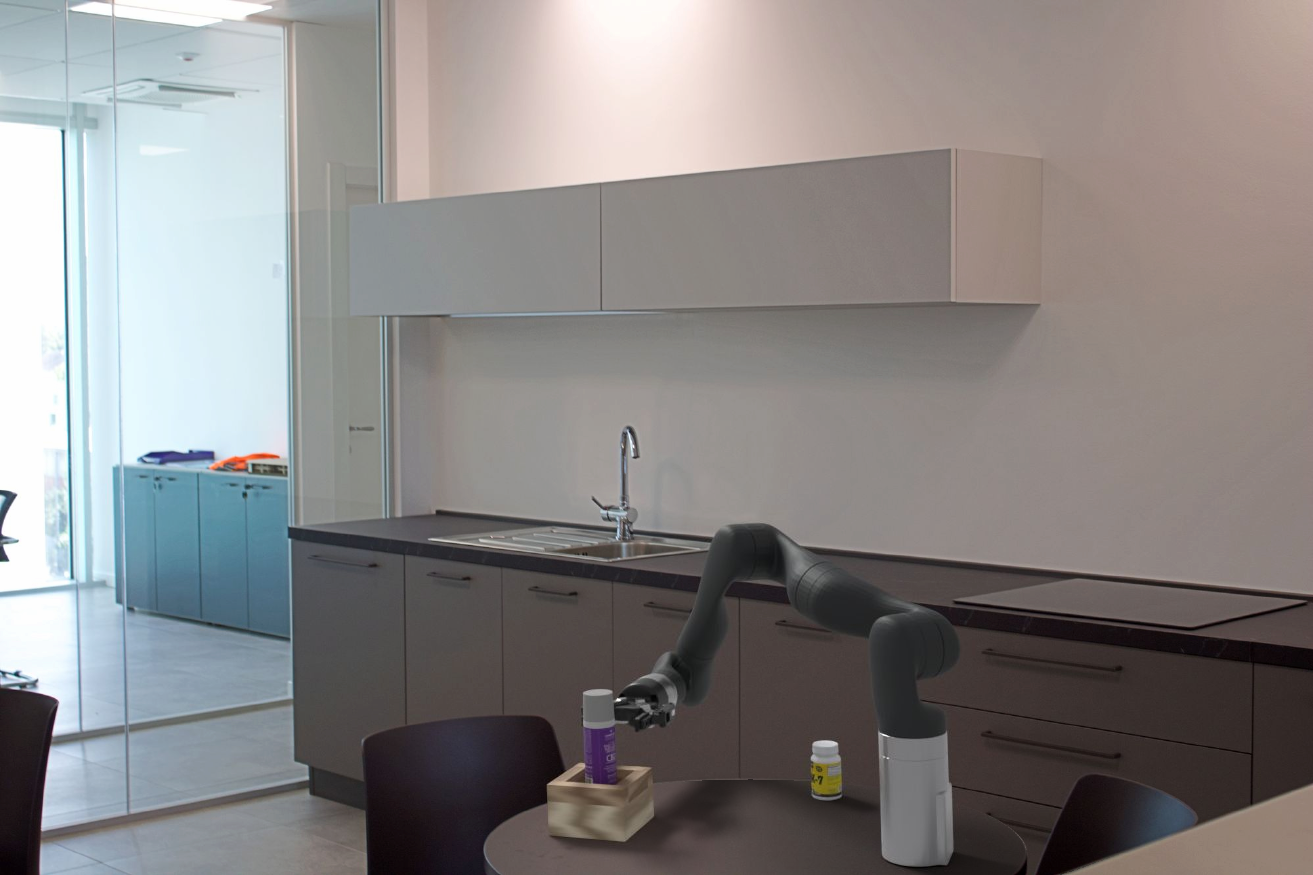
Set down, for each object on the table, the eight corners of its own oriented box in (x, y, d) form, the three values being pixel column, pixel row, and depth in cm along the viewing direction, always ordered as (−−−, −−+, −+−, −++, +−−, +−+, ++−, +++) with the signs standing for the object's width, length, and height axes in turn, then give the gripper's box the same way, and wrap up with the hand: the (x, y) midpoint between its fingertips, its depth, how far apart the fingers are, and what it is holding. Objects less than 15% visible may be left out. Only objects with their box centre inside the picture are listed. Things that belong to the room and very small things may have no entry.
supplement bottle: (806, 795, 218) (804, 742, 218) (831, 790, 220) (829, 737, 220) (822, 802, 214) (820, 748, 213) (848, 797, 216) (846, 744, 215)
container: (613, 797, 203) (609, 695, 203) (582, 796, 204) (578, 695, 204) (620, 787, 208) (616, 688, 207) (590, 787, 209) (586, 688, 208)
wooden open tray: (653, 816, 210) (652, 767, 209) (625, 841, 198) (623, 789, 198) (581, 810, 214) (579, 762, 214) (548, 835, 203) (546, 784, 202)
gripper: (606, 675, 228) (567, 697, 213) (688, 679, 223) (653, 701, 208) (608, 720, 228) (568, 746, 213) (690, 725, 223) (655, 751, 208)
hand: (610, 724), depth 210 cm, fingers open, 8 cm apart
